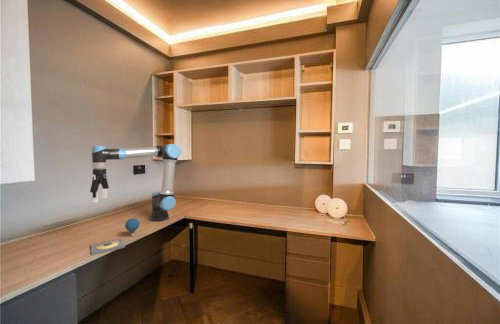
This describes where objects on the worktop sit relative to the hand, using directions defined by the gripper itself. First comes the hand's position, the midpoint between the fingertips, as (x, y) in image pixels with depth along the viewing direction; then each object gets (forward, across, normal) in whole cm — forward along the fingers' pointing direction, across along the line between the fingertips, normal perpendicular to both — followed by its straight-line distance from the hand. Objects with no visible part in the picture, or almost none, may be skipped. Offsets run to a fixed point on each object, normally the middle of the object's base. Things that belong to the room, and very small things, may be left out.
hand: (100, 200), depth 144 cm
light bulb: (+25, +4, +20) cm, 33 cm away
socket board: (+25, +19, +11) cm, 33 cm away
